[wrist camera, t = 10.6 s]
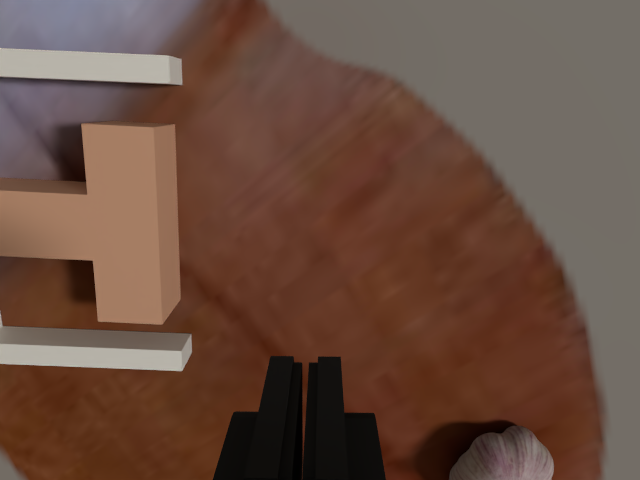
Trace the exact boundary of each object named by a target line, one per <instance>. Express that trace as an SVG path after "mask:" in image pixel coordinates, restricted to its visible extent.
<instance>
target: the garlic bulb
mask: <svg viewBox="0 0 640 480" xmlns="http://www.w3.org/2000/svg"><path fill="white" fill-rule="evenodd" d="M553 471H554V464H553V459H552V457H551V454H550V453H549V451H548V450H547V448H546V447H545V446H544V445H543V444H541V443H540V442H539V441H538V440H537V438H536V437H535V435H534V434H533V433H532V432H531V431H530V430H528V429H527V428H525V427H522V426H511V427H509V428H507V429H506V430H505V431H504V432H503V433H485V434H482V435H480V436H479V437H477V438H476V439H475V440H474V441H473V443H472V445H471V447H470V448H469V450H468V451H467V452H465V453H464V454H462V455H461V457H460V458H459V460H458V462H457V463H456V464H454V465H453V467H452V469H451V471H450V475H449V480H551V479H552V475H553Z"/></svg>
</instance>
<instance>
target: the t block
mask: <svg viewBox="0 0 640 480" xmlns="http://www.w3.org/2000/svg"><path fill="white" fill-rule="evenodd" d="M81 126H82V138H83V150H84V161H85V173H86V182H77V181H57V180H37V179H18V178H0V256H10V257H31V258H51V259H71V260H91V261H93V267H94V279H95V291H96V303H97V315H98V321H99V322H120V323H141V324H163V323H164V322H165V320H166V319H167V317H168V316H169V315H170V313H171V312H172V310H173V309H174V308H175V306H176V305H177V303H178V302H179V301H180V299H181V298H180V267H179V236H178V205H177V174H176V144H175V124H163V123H144V122H124V121H105V122H94V123H84V124H81Z"/></svg>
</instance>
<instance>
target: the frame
mask: <svg viewBox="0 0 640 480" xmlns="http://www.w3.org/2000/svg"><path fill="white" fill-rule="evenodd" d="M0 77H7V78H30V79H53V80H76V81H99V82H122V83H145V84H168V85H182V62H181V59H178V58H175V57H172V56H165V55H142V54H119V53H97V52H74V51H51V50H28V49H5V48H0ZM191 353H192V341H191V334H185V333H160V332H136V331H111V330H86V329H62V328H37V327H12V326H2V320H1V313H0V364H20V365H45V366H70V367H95V368H120V369H145V370H170V371H182V370H183V369H184V367H185V365H186V363H187V361H188V359H189V357H190V355H191Z"/></svg>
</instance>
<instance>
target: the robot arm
mask: <svg viewBox="0 0 640 480" xmlns="http://www.w3.org/2000/svg"><path fill="white" fill-rule="evenodd" d="M302 464H303V479H302ZM213 480H386V478H385V472H384V466H383V460H382V454H381V448H380V442H379V436H378V430H377V424H376V418H375V414H374V413H344V402H343V387H342V371H341V357H318V363H309V373H308V390H307V407H306V424H305V441H304V457H303V434H302V363H299V362H294V357H293V356H271V357H270V361H269V366H268V370H267V375H266V380H265V384H264V389H263V393H262V398H261V402H260V407H259V412H234V413H233V415H232V418H231V421H230V424H229V428H228V431H227V434H226V438H225V441H224V444H223V448H222V451H221V454H220V458H219V461H218V464H217V468H216V471H215V474H214V478H213Z"/></svg>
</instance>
